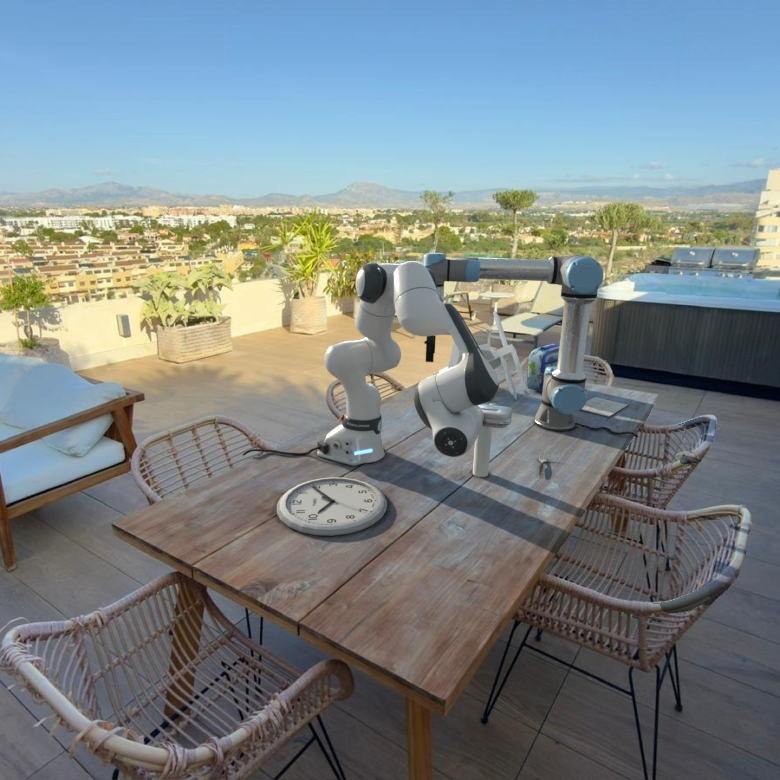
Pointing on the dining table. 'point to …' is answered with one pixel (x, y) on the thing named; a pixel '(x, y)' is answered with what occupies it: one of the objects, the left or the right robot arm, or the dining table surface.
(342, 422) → the left robot arm
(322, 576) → the dining table surface
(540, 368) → the lunch box
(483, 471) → the white plastic cylinder
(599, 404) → the invitation card
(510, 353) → the white plastic object
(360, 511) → the wall clock
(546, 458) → the fork
